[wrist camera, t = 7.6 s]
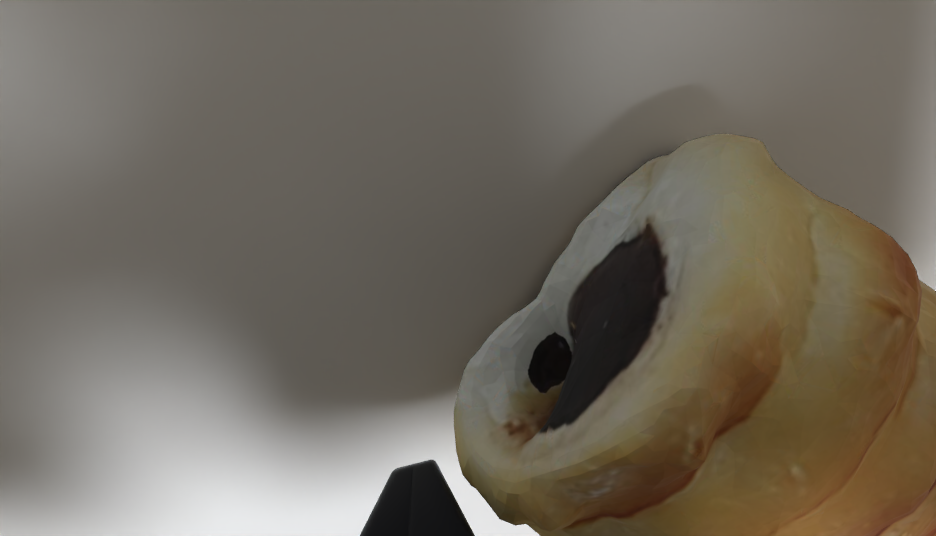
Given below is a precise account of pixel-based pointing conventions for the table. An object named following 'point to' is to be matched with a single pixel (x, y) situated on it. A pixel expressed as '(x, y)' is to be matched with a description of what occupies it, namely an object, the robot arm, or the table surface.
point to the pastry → (712, 367)
